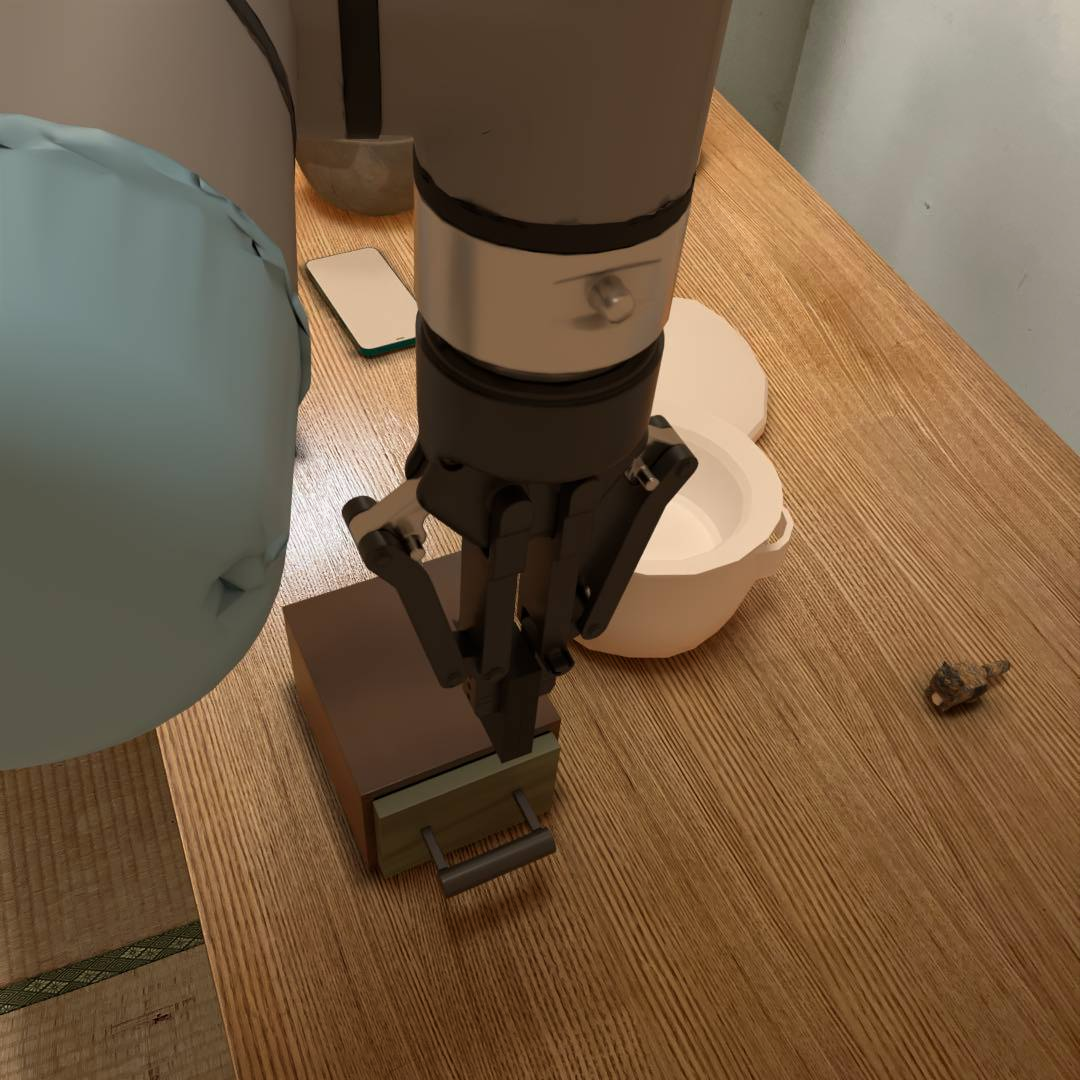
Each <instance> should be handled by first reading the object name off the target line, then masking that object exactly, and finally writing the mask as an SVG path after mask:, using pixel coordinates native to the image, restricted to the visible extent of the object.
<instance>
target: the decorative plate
mask: <svg viewBox="0 0 1080 1080" xmlns="http://www.w3.org/2000/svg"><path fill="white" fill-rule="evenodd" d="M663 329H664V335H665V343H664V351H663V356H662V361H661V366H660V371H659V376H658V381H657V386H656V391H655V397H654V399H657V400H664V401H671V402H676V403H679V404H682V405H686V406H689V407H693V408H696V409H699V410H703V411H706V412H708V413H710V414H712V415H715V416H717V417H719V418H721V419H723V420H725V421H727V422H728V423H730V424H731V425H733V426H734V427H735V428H737V429H738V430H740V431H741V432H743V433H744V434H746V435H747V436H748V437H749V438H750V439H751V440H752V441H753V442H754V443H755V444H756V443H757V441H758V440H759V439H760V437H761V436H762V435H763V434H764V431H765V428H766V424H767V419H768V418H767V415H768V397H769V396H768V395H769V379H768V377H767V375H766V373H765V372H764V369H763V368H762V366H761V365H760V363H759V361H758V359H757V357H756V355H755V353H754V351H753V350H752V348H751V346H750V344H749V342H748V341H747V340H746V339H745V338H744V337H743V336H742V335H741V334H740V333H739V332H738V331H737V329H735V328H734V327H733V326H732V325H731V324H730V323H729V322H728V321H727V320H726V319H725V318H724V317H723V316H720V315H719V314H718V313H716V312H715V311H713V310H712V309H710V308H709V307H707V306H705V305H704V304H702V303H701V302H700V301H698V300H697V299H693V298H686V297H685V298H684V297H677V296H673V300H672V305H671V310H670V315H669V320H668V321H667V323H666V325H665V326H664V328H663Z"/></svg>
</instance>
